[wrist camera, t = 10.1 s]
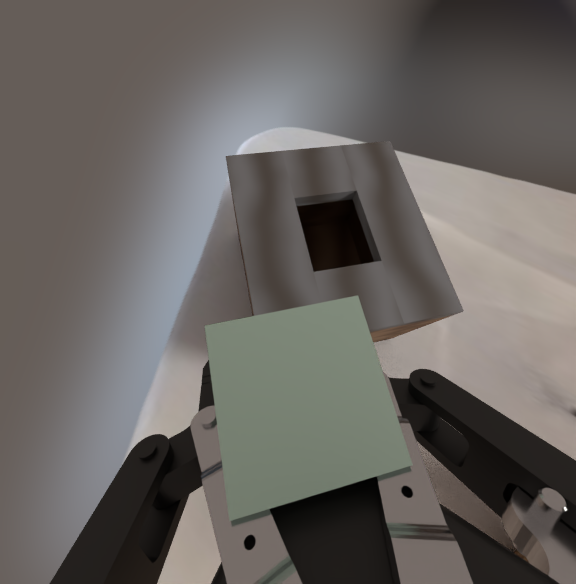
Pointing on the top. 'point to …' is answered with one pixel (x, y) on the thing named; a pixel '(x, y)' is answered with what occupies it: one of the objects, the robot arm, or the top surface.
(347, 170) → the box
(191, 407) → the top surface
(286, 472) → the sage peg
